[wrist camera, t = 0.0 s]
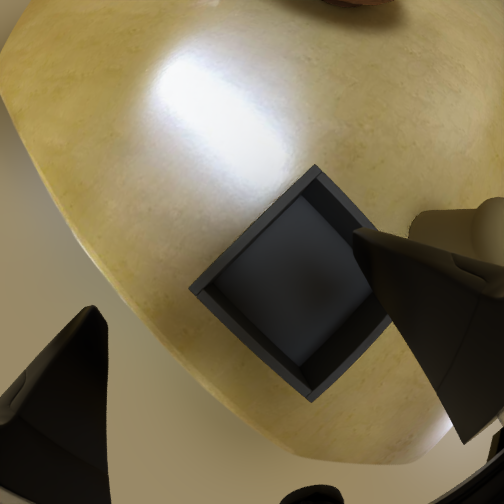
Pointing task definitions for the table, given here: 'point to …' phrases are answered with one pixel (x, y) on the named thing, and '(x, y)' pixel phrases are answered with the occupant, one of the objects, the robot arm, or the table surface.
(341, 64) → the table surface
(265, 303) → the dark grey square box
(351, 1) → the bowl
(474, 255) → the cork
